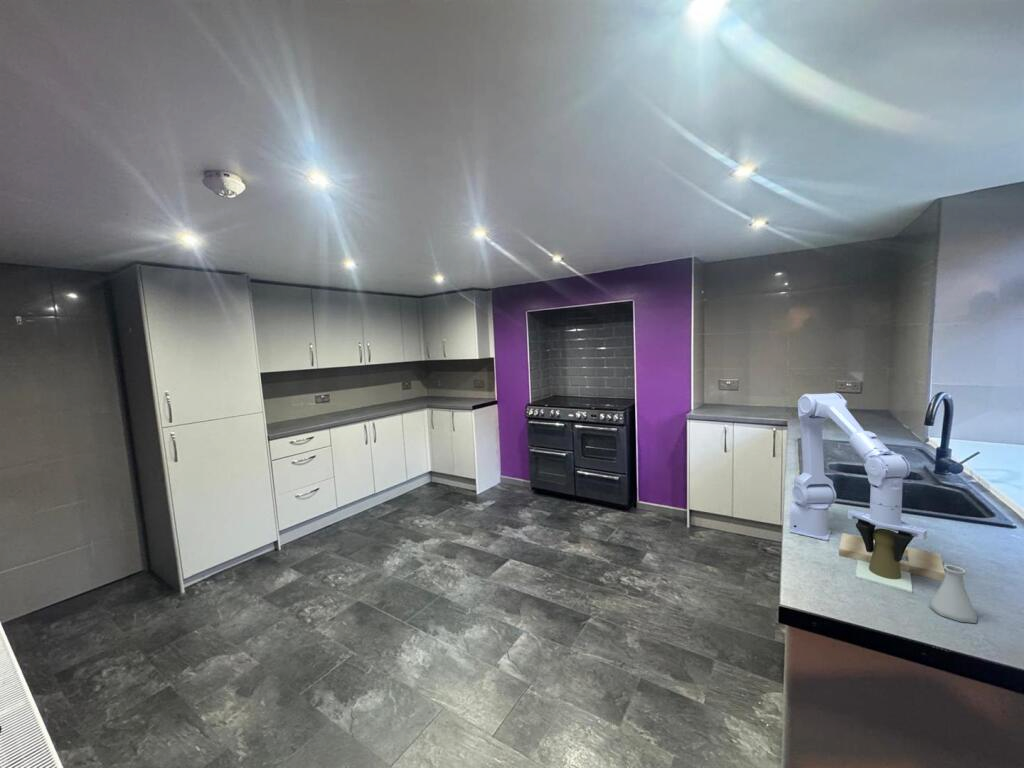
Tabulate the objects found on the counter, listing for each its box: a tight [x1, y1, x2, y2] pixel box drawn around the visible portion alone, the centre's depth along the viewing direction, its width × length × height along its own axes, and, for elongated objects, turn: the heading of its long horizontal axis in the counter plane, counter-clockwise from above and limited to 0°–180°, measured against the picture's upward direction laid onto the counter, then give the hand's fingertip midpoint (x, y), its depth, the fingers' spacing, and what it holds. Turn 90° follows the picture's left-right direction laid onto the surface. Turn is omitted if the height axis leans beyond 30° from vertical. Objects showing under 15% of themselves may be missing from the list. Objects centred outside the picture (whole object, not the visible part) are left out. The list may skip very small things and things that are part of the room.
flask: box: [928, 564, 978, 624], centre depth 86 cm, size 7×7×10 cm
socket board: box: [838, 532, 946, 582], centre depth 108 cm, size 20×12×2 cm, turn 47°
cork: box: [869, 527, 901, 579], centre depth 100 cm, size 6×6×11 cm
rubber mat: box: [855, 560, 913, 594], centre depth 100 cm, size 10×10×1 cm
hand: (883, 555), depth 100 cm, fingers closed on cork, 5 cm apart
